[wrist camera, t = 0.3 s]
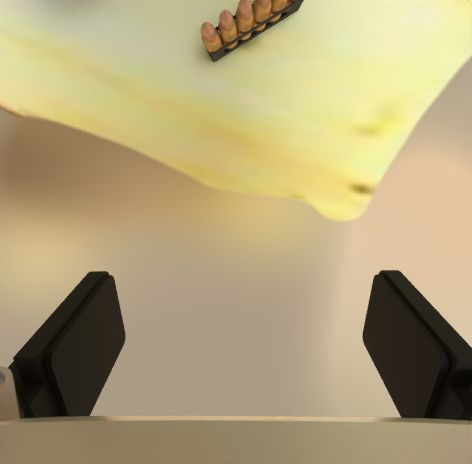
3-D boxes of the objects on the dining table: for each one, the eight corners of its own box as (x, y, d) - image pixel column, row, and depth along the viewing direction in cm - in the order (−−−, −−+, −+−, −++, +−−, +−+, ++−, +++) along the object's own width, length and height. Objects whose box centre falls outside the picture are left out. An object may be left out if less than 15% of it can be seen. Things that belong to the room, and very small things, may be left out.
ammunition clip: (213, 62, 35) (201, 44, 24) (205, 46, 34) (188, 20, 23) (298, 9, 33) (328, -37, 22) (291, -9, 32) (318, -67, 21)
